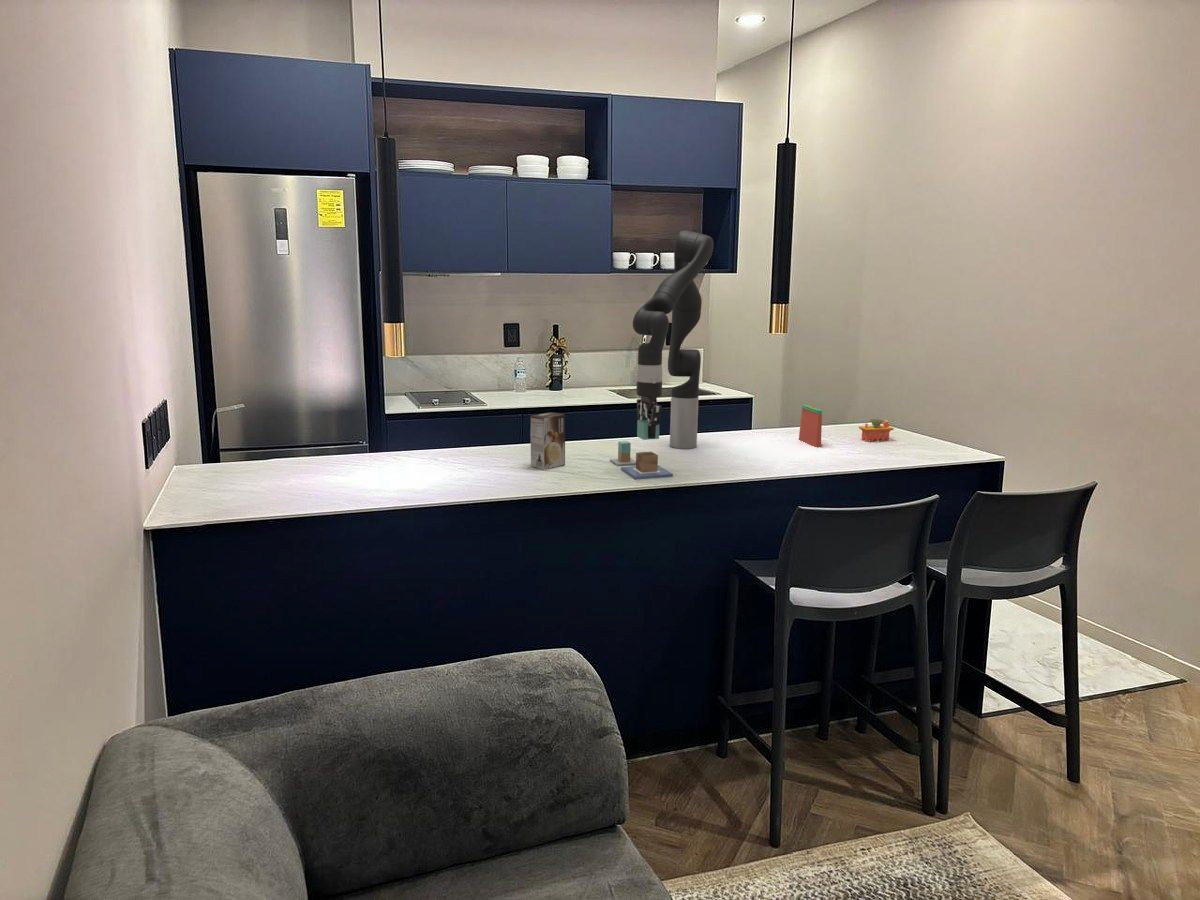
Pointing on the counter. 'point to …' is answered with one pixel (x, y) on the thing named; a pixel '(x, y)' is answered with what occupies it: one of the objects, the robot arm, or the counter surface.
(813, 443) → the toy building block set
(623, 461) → the stacked block model
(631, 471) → the board
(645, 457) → the walnut cube
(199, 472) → the counter surface
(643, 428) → the teal cube
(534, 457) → the coffee box
